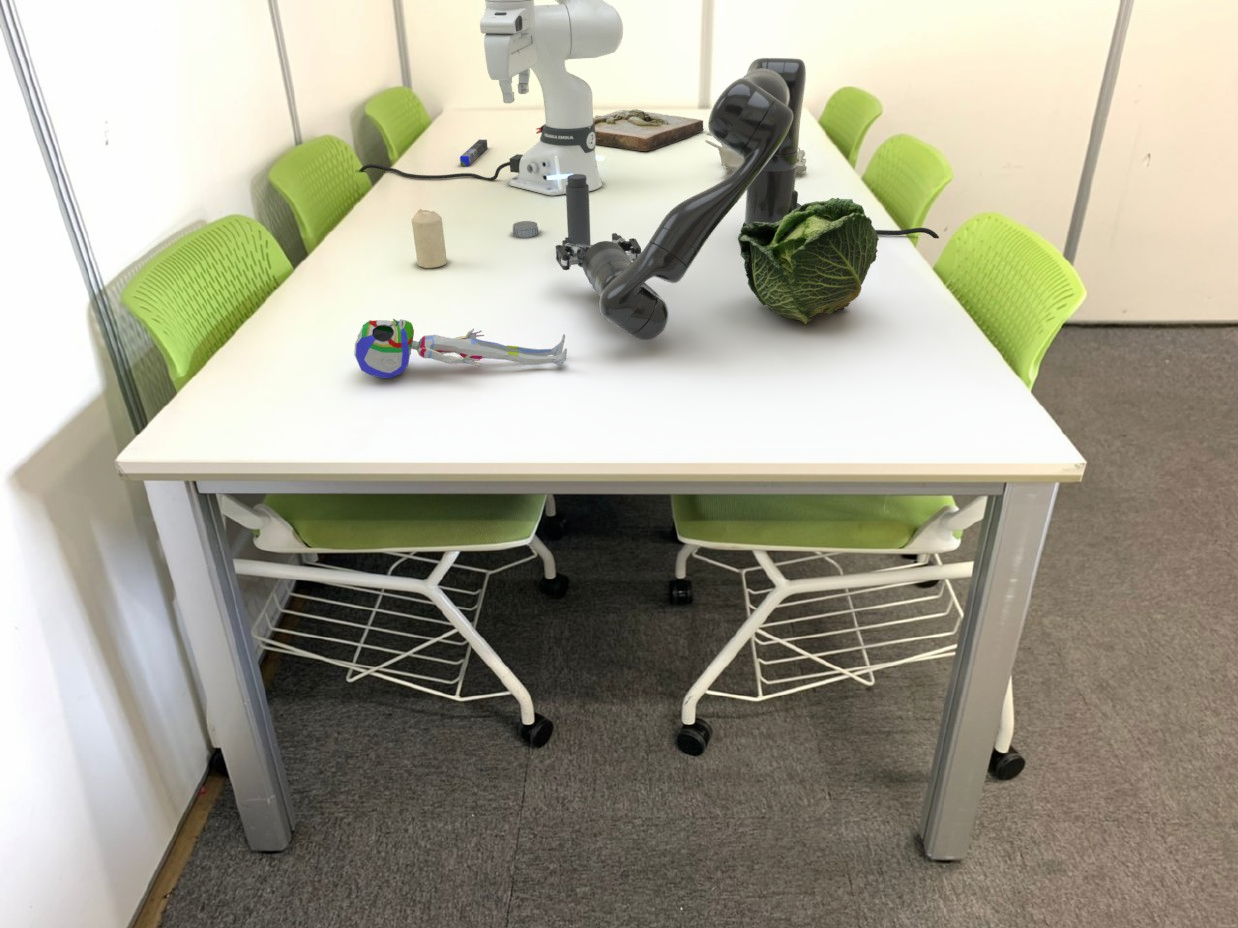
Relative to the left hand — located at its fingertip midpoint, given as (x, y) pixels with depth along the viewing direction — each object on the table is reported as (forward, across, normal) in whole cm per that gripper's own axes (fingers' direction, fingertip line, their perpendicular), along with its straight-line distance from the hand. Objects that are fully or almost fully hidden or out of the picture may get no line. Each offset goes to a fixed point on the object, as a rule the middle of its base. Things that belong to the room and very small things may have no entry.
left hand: (516, 98), depth 171 cm
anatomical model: (+26, -54, +43) cm, 74 cm away
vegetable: (+26, +33, +57) cm, 71 cm away
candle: (+26, +21, -12) cm, 36 cm away
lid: (+25, 0, 0) cm, 25 cm away
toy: (+26, +62, +9) cm, 68 cm away
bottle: (+26, +11, +14) cm, 32 cm away
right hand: (+20, +22, +19) cm, 35 cm away
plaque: (+26, -91, +6) cm, 95 cm away
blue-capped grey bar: (+26, -60, -32) cm, 73 cm away
